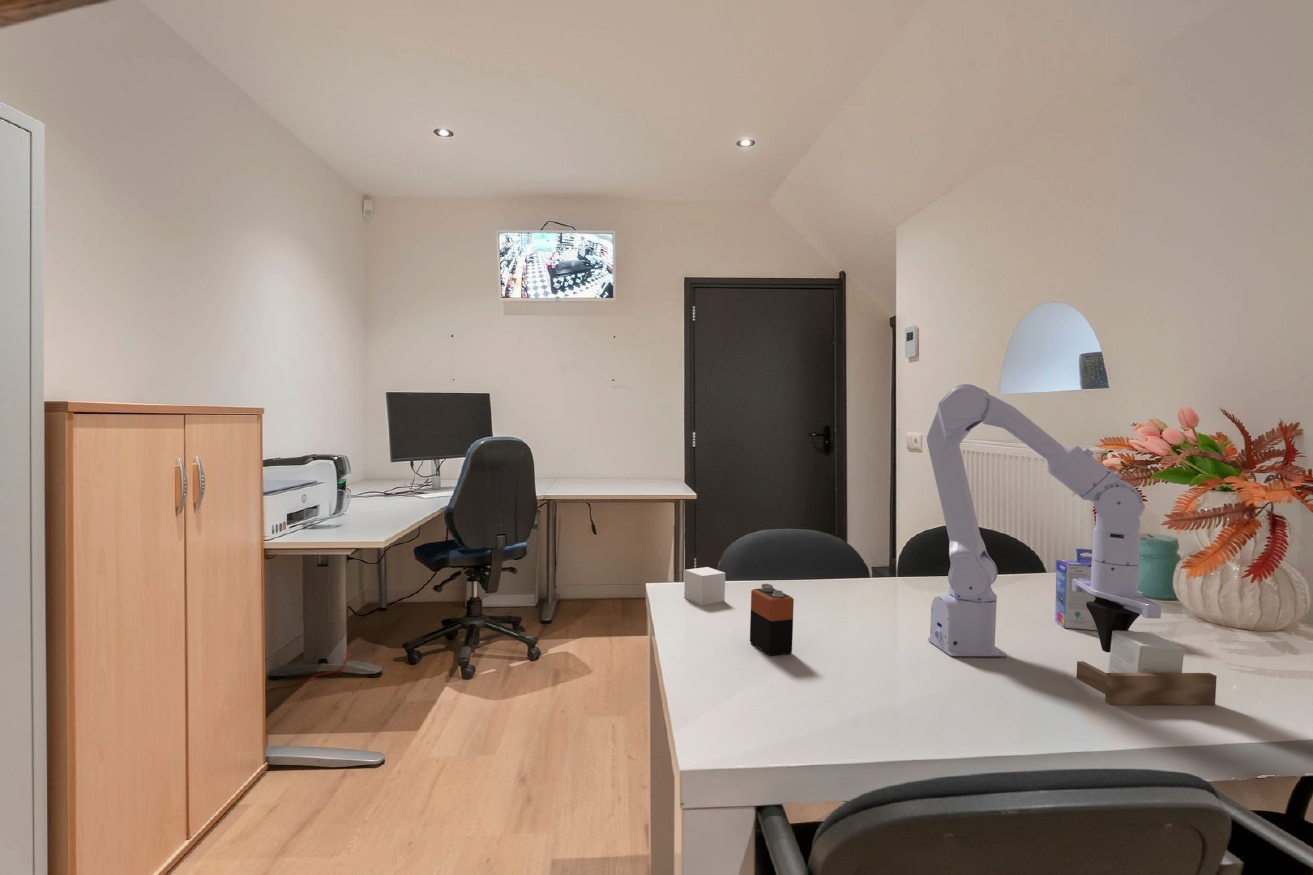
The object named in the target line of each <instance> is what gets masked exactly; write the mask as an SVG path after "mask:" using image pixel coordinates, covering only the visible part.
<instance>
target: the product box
mask: <svg viewBox="0 0 1313 875" xmlns="http://www.w3.org/2000/svg"><path fill="white" fill-rule="evenodd" d="M1185 650H1186V649H1185V648H1184V647H1182V646H1180V645H1178V644H1176V643H1173V642H1171V641H1169V640H1168V639H1165V638H1164V637H1161V636H1160V635H1158V634H1156V633H1154V632H1151V631H1150V632H1149V631H1133V630H1132V631H1131V630H1128V631H1112V640H1111V651H1110V652H1109V653H1110V654H1109V661H1108V663H1109V664H1108V672H1107V673H1183V664H1184V657H1185Z"/></svg>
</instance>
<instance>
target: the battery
mask: <svg viewBox="0 0 1313 875" xmlns="http://www.w3.org/2000/svg"><path fill="white" fill-rule="evenodd" d="M750 592H751V594H750V599H751V600H750V620H749V621H750V624H749V626H750V627H749V642H750V643H751V644H752V645H754V646H755V647H757V648H758V649H760V650H761V651H762V652H764V653H766V654H767V655H769V656H779V655H788V654H792V653H793V633H794V632H793V630H794V627H793V626H794V603H795V602H794V598H793V596H790V595H788V594H787V593H784V591H783V590H780V589H776V588H774V585H773V584H770V583H761V588H754V589H751V591H750Z"/></svg>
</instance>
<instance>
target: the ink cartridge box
mask: <svg viewBox="0 0 1313 875" xmlns="http://www.w3.org/2000/svg"><path fill="white" fill-rule="evenodd" d="M1075 552H1076V559H1077V560H1069V559H1068V560H1067V559H1056V561H1055V563H1056V565H1055V566H1056V567H1055V568H1056V570H1055V613H1054V616H1055V617H1054V621H1055V622H1056V621H1057V622H1058V625H1060V626H1061V625H1062V626H1061V627H1062V628H1066V629H1073V630H1074V629H1076V630H1086V631H1087V630H1089V631H1097V627H1096V625H1095V622H1094V620H1093V617H1092V615H1091V613H1090V612H1089V610H1088V608H1087V607H1086V602H1094V600H1095V597H1093V596H1090V595H1087V594H1085V593H1082V592H1075V591H1073V590H1072V579H1086V580H1089V581H1091V567H1092V556H1082V555H1081V554H1086V553H1088V554H1091V555H1092V549H1089V548H1088V549H1087V548H1075ZM1057 622H1056V623H1057Z"/></svg>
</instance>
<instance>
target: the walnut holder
mask: <svg viewBox="0 0 1313 875" xmlns="http://www.w3.org/2000/svg"><path fill="white" fill-rule="evenodd" d="M1217 676H1218V675H1215V674H1213V673H1211V672H1182V673H1108V672H1105V671H1103V670H1101V669H1099V668H1097V667H1095V666H1093V665H1091V664H1089V663H1087V662H1085V661H1080V660H1079V661H1077V662H1076V677H1075V678H1076V679H1078V680H1080V682H1083V683H1085V684H1086V685H1089V686H1090V687H1092V688H1094V689H1095V690H1097V689H1098V690H1097V691H1099V690H1100V691H1099V692H1101V693H1102V694H1104V693H1105V694H1104V695H1105V696H1104V698H1105V699H1104V702H1105V703H1106V702H1107V703H1106V704H1108V703H1109V704H1108V705H1110V706H1154V705H1155V706H1188V705H1189V706H1202V705H1203V706H1205V705H1206V706H1210V705H1211V706H1216V697H1217V696H1216V695H1217V694H1216V693H1217V679H1218V678H1217ZM1167 704H1168V705H1167ZM1171 704H1172V705H1171ZM1175 704H1177V705H1175ZM1179 704H1181V705H1179Z"/></svg>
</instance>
